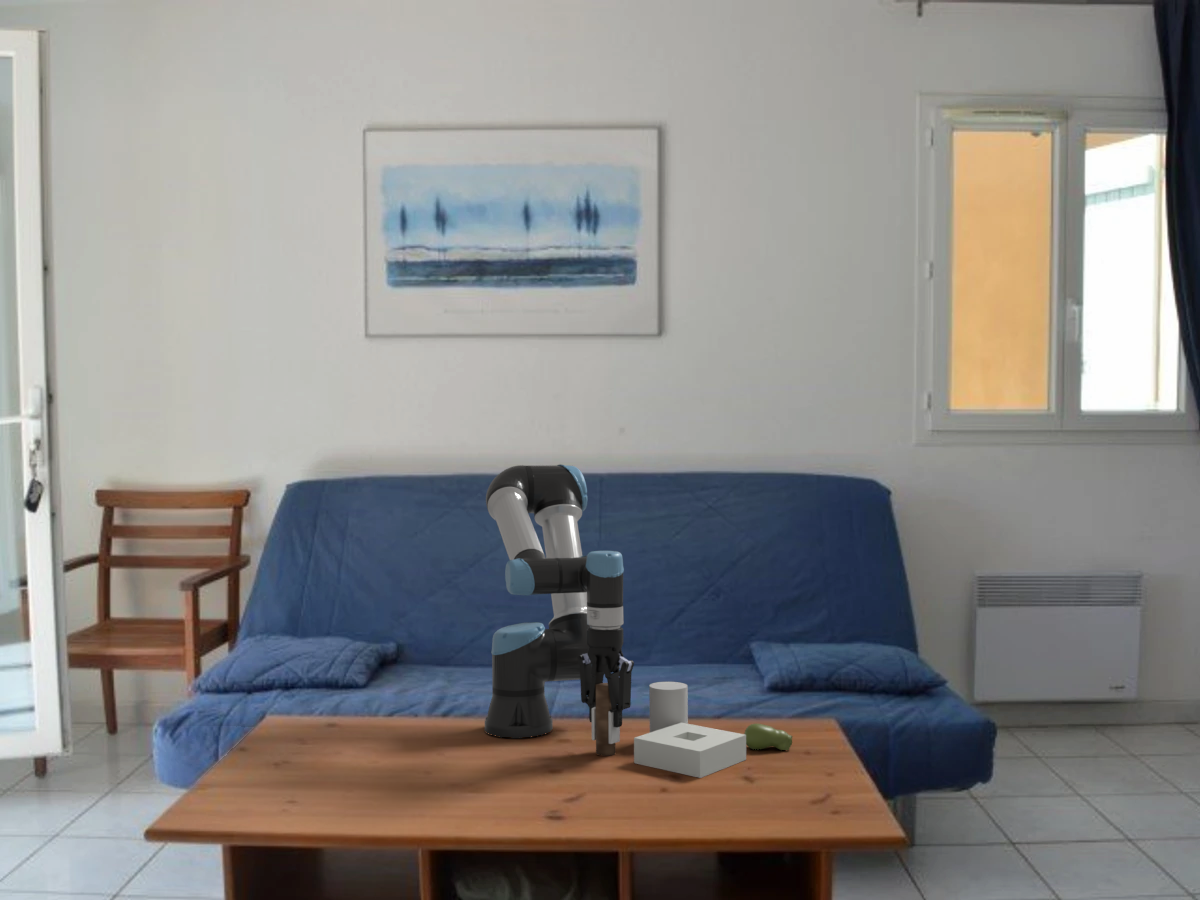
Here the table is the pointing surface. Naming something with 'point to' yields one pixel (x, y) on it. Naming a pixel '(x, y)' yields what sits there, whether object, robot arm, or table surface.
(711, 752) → the socket block
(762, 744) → the pear
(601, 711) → the walnut dowel
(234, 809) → the table surface
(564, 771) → the table surface
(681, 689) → the grey cylinder peg
